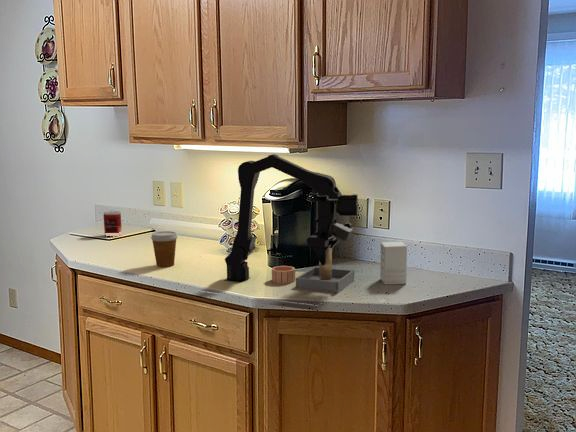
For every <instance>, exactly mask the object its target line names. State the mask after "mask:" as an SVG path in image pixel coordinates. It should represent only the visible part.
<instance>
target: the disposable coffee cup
mask: <svg viewBox="0 0 576 432" xmlns="http://www.w3.org/2000/svg"><path fill="white" fill-rule="evenodd" d="M150 239H151V241H152V246H153V251H154V256H155V264H156V267H159V268H170V267H174V266H175V258H176V247H177V245H176V244H177V239H178V235H177V232H175V231H166V230H164V231H156V232H155V231H154V232H152V234H151V237H150Z"/></svg>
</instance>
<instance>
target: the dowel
mask: <svg viewBox="0 0 576 432" xmlns="http://www.w3.org/2000/svg"><path fill="white" fill-rule="evenodd" d="M318 264H319V265H318V267H319V279H320V280H331V279H332V268H333V251H332V248H331V247H329V248H328V249H327V255H326V262H325V265H321V263H320V261H319V262H318Z"/></svg>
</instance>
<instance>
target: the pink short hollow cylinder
mask: <svg viewBox="0 0 576 432" xmlns="http://www.w3.org/2000/svg"><path fill="white" fill-rule="evenodd" d="M271 282H272V283H274V284H278V285H279V284H281V285H289V284H292V283H296V268H295V267H294V266H291V265H289V266H288V265H278V266H274V267H271Z"/></svg>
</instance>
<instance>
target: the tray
mask: <svg viewBox="0 0 576 432" xmlns="http://www.w3.org/2000/svg"><path fill="white" fill-rule="evenodd" d="M353 282H355V270H352V269H343V268H342V269H341V268H333V267H332V279H331V280H320V279H319V266H313V267H312V268H310V269H308V270H307V271H305V272H303V273H302V274H300V275H299V276H296V277H295V288H297V289H307V290H317V291H324V292H332V293H333V294H340V292H342V291H343V290H345V289H346V288H347V287H348V286H349V285H351V284H352V283H353Z"/></svg>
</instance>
